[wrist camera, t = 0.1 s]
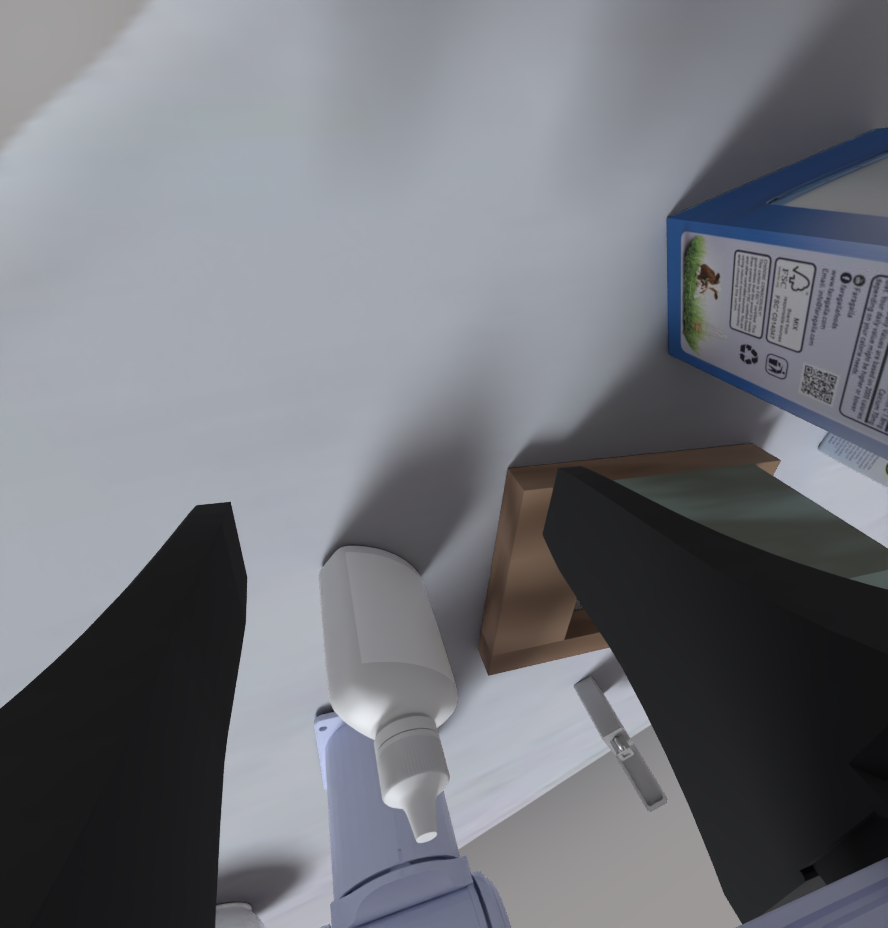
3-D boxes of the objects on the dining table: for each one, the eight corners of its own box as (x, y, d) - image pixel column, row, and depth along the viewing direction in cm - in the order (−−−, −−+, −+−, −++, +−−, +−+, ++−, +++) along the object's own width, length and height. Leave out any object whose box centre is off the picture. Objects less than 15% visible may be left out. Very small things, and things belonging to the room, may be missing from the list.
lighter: (572, 685, 37) (632, 793, 31) (591, 675, 37) (654, 781, 31) (595, 715, 42) (651, 816, 35) (611, 706, 41) (671, 805, 35)
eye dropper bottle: (386, 519, 23) (459, 778, 13) (427, 584, 26) (509, 828, 16) (307, 558, 23) (322, 847, 13) (359, 618, 26) (400, 884, 16)
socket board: (672, 607, 35) (802, 755, 26) (477, 648, 31) (554, 843, 22) (752, 443, 27) (973, 573, 19) (507, 468, 23) (643, 653, 14)
